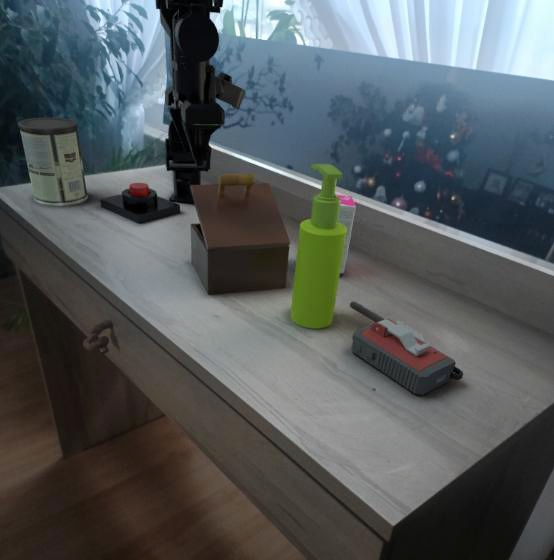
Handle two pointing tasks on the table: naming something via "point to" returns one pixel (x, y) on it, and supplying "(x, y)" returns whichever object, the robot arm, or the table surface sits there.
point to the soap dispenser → (319, 256)
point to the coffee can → (54, 160)
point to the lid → (238, 214)
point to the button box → (140, 206)
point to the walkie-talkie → (402, 353)
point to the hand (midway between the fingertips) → (193, 158)
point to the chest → (238, 266)
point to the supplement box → (346, 223)
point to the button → (139, 189)
